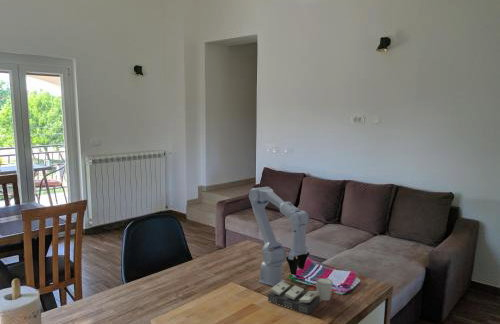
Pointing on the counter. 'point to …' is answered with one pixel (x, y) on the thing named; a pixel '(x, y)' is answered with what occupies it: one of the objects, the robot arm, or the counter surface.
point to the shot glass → (324, 288)
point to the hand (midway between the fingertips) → (297, 271)
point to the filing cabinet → (294, 301)
